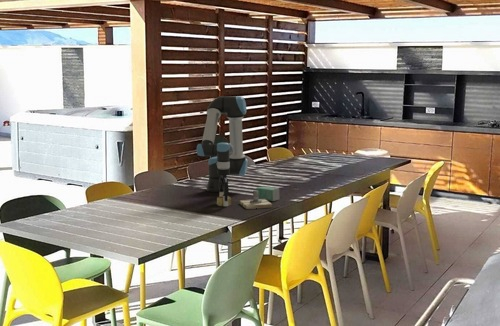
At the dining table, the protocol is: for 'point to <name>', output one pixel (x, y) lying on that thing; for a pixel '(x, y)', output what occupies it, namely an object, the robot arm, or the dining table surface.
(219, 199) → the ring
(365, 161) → the dining table surface
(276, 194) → the box
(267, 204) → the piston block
